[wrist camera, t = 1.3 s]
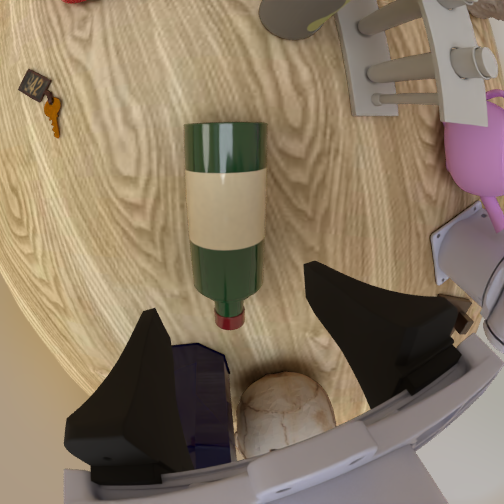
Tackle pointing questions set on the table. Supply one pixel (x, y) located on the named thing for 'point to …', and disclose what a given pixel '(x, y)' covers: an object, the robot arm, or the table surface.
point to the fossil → (487, 9)
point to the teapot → (479, 158)
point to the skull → (281, 413)
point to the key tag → (41, 95)
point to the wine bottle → (226, 212)
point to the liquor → (72, 1)
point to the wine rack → (460, 314)
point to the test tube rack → (415, 59)
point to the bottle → (204, 404)
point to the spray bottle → (297, 16)
